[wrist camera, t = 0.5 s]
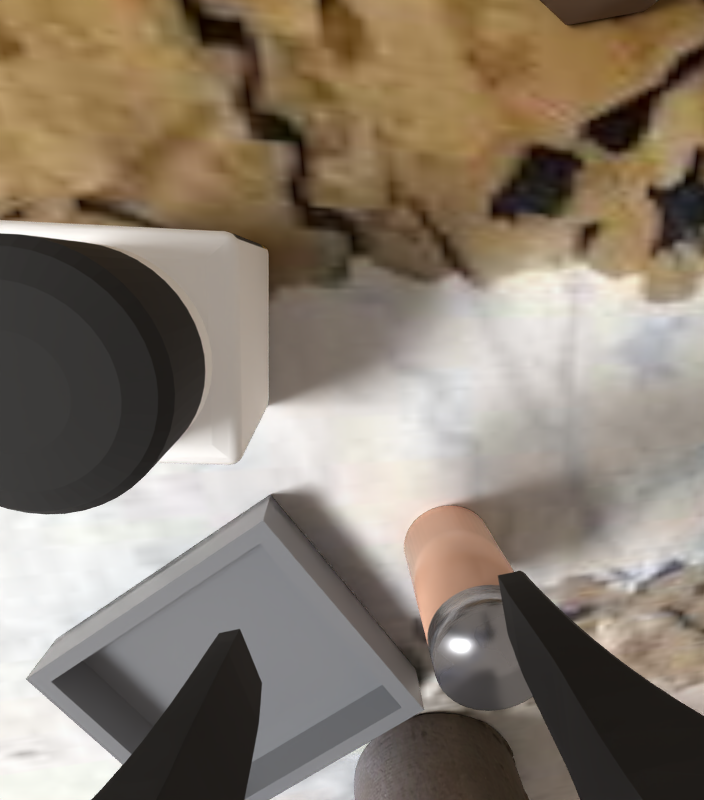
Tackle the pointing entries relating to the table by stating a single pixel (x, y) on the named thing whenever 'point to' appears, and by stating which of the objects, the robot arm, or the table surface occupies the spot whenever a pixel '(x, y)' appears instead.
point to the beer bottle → (594, 9)
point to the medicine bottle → (124, 356)
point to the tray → (267, 643)
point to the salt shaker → (464, 608)
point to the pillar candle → (438, 762)
